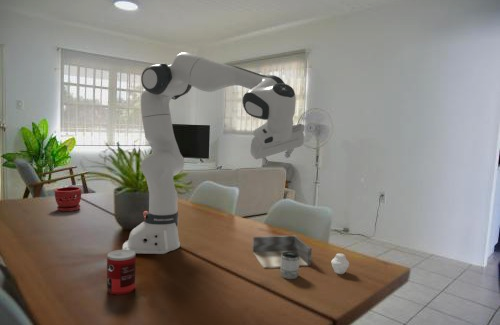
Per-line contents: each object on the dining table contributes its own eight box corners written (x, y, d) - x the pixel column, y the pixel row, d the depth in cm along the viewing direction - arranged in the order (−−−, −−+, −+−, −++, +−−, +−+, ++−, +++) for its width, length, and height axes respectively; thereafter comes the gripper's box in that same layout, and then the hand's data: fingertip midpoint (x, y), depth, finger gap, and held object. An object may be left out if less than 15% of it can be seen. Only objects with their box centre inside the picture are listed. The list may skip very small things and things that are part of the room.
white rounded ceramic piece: (329, 268, 127) (330, 249, 126) (346, 269, 127) (347, 250, 126) (332, 275, 121) (333, 256, 120) (350, 276, 121) (351, 257, 120)
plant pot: (65, 206, 202) (65, 185, 201) (86, 208, 200) (86, 187, 199) (49, 211, 189) (48, 189, 188) (71, 213, 187) (71, 191, 186)
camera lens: (297, 280, 115) (299, 257, 115) (278, 278, 117) (280, 255, 116) (299, 273, 121) (300, 251, 121) (281, 271, 123) (282, 249, 122)
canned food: (111, 283, 107) (111, 249, 106) (137, 283, 108) (138, 249, 107) (103, 295, 100) (103, 258, 99) (131, 295, 100) (132, 258, 99)
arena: (263, 268, 124) (264, 250, 123) (252, 252, 139) (253, 236, 139) (310, 265, 128) (311, 248, 128) (294, 250, 144) (295, 235, 143)
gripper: (300, 118, 125) (295, 147, 134) (249, 131, 118) (248, 162, 127) (309, 127, 121) (304, 157, 130) (257, 142, 114) (255, 172, 123)
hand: (276, 160), depth 129 cm, fingers open, 8 cm apart
